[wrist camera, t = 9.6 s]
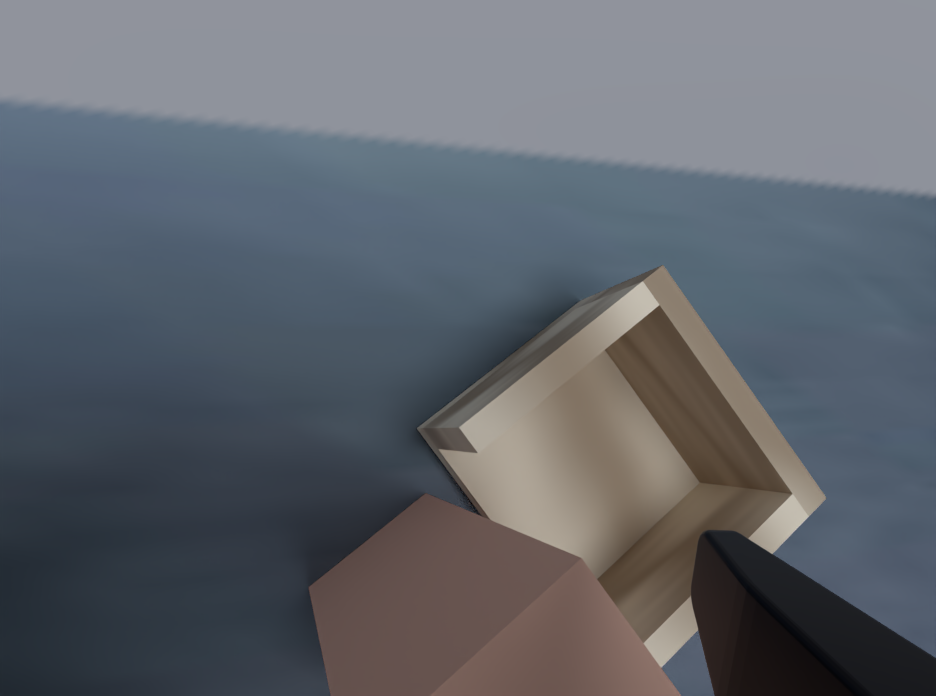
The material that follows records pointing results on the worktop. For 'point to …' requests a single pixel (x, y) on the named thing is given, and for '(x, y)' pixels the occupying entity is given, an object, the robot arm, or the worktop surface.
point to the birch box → (626, 450)
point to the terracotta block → (473, 616)
